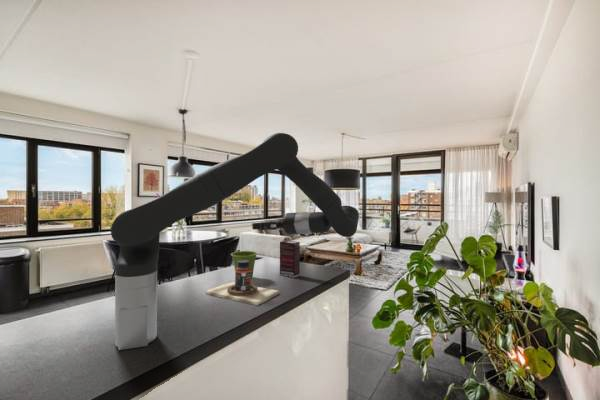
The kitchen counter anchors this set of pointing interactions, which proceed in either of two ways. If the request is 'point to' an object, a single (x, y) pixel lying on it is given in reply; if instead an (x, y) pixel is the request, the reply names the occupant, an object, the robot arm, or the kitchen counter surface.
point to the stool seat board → (243, 293)
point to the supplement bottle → (243, 276)
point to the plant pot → (245, 258)
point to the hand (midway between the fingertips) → (259, 225)
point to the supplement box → (290, 258)
